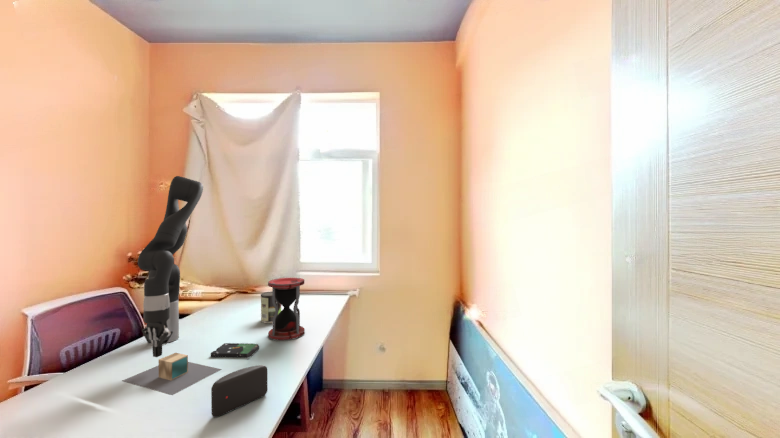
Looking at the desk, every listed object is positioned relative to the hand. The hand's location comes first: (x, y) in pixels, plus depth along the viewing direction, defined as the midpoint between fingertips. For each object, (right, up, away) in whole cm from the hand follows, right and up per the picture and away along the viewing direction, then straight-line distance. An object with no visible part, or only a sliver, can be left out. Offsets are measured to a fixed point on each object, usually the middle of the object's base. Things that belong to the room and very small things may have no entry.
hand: (157, 356), depth 117 cm
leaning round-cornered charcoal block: (+39, -6, -21) cm, 44 cm away
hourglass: (+34, -5, +37) cm, 51 cm away
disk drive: (+20, -6, +16) cm, 26 cm away
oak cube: (+5, -2, -2) cm, 6 cm away
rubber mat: (+8, -6, -3) cm, 10 cm away
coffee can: (+19, -5, +58) cm, 61 cm away
